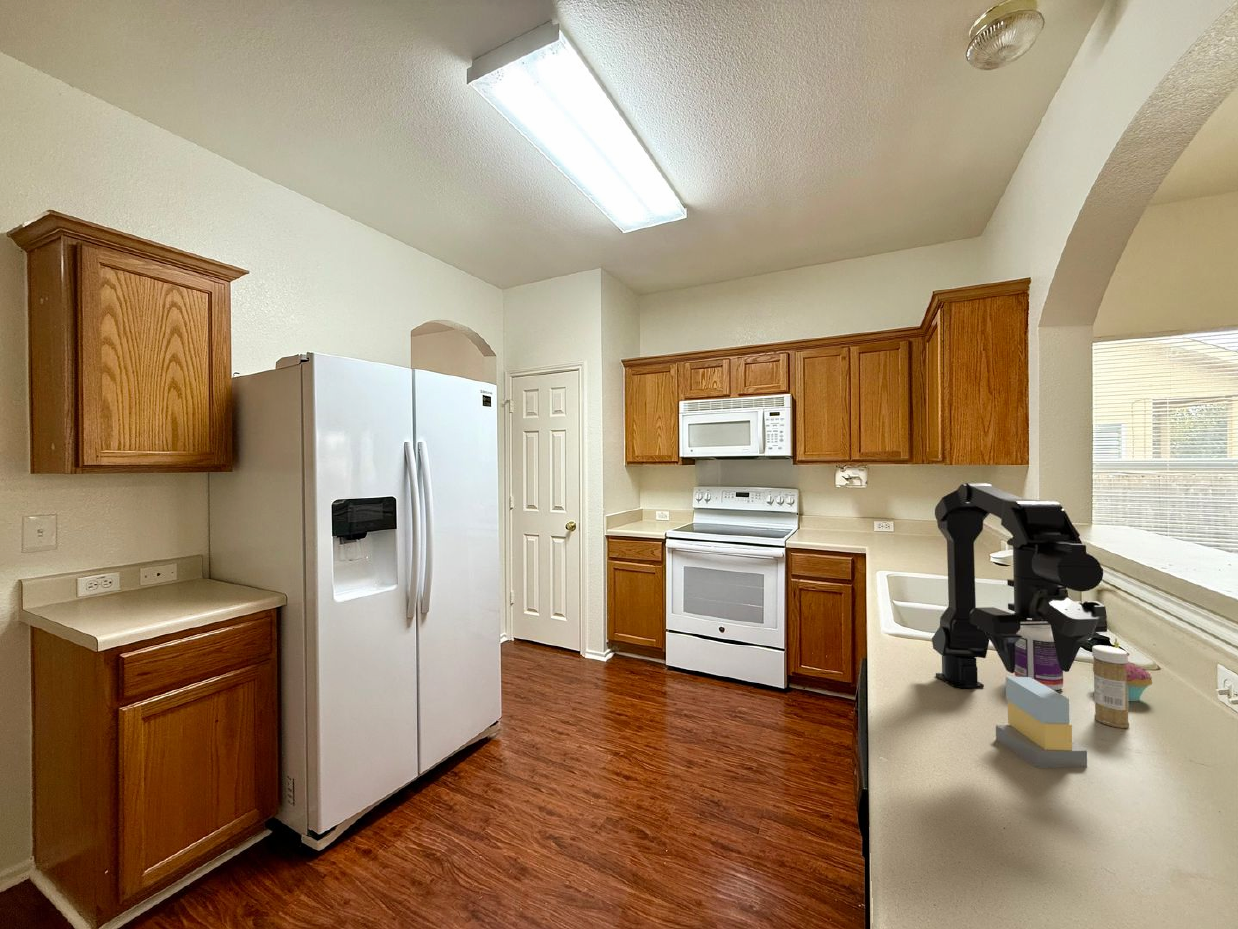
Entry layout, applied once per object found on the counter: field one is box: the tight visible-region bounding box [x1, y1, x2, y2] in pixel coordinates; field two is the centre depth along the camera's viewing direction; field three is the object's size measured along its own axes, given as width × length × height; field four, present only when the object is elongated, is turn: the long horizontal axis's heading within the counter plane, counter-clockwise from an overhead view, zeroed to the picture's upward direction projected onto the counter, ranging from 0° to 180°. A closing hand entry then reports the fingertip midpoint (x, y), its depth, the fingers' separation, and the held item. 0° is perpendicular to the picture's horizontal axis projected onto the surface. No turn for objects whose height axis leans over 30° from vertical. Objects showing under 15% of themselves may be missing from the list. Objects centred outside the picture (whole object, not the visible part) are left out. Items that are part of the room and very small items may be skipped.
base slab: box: [995, 724, 1088, 769], centre depth 80 cm, size 8×8×3 cm
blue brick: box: [1005, 675, 1070, 724], centre depth 81 cm, size 8×4×4 cm, turn 175°
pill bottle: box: [1013, 618, 1064, 691], centre depth 105 cm, size 8×8×14 cm
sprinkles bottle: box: [1091, 644, 1130, 729], centre depth 89 cm, size 5×5×14 cm
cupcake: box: [1092, 638, 1153, 702], centre depth 100 cm, size 9×8×12 cm
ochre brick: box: [1007, 701, 1073, 751], centre depth 80 cm, size 8×4×4 cm, turn 176°
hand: (1037, 671), depth 81 cm, fingers open, 9 cm apart
